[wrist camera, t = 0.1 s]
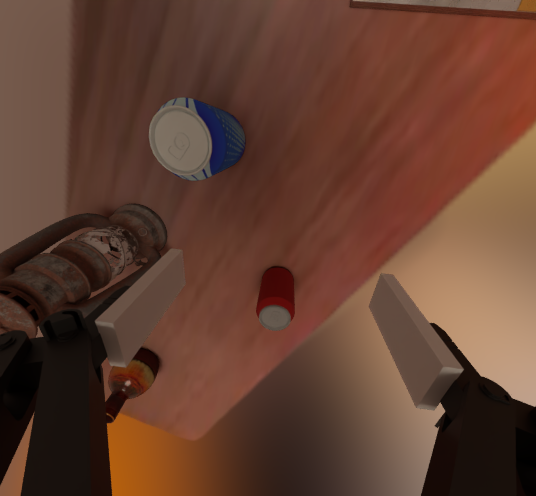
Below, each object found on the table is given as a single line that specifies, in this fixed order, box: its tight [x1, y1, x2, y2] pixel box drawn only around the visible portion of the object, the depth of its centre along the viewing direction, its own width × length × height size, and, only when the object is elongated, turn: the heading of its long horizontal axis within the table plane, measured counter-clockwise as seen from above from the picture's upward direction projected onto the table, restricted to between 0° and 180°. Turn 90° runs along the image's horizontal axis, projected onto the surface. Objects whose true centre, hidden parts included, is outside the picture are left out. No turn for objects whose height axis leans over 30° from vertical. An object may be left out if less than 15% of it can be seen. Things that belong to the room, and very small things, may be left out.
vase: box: [105, 349, 159, 423], centre depth 57 cm, size 11×11×15 cm
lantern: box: [0, 204, 167, 339], centre depth 31 cm, size 11×16×35 cm
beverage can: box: [256, 267, 295, 331], centre depth 43 cm, size 7×7×12 cm
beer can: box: [149, 98, 245, 181], centre depth 30 cm, size 8×8×16 cm
